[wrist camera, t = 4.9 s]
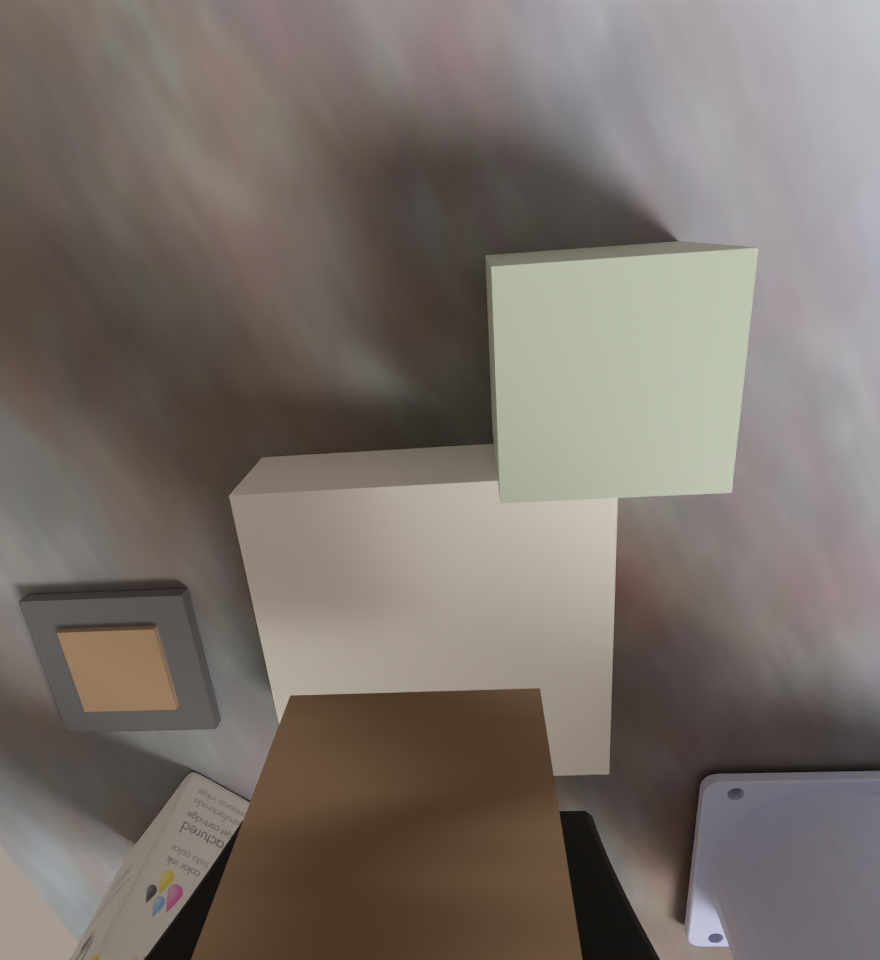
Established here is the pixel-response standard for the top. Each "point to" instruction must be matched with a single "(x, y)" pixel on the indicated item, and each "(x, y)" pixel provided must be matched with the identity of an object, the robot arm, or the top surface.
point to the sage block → (618, 369)
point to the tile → (123, 660)
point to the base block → (432, 585)
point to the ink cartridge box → (162, 870)
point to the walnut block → (400, 835)
